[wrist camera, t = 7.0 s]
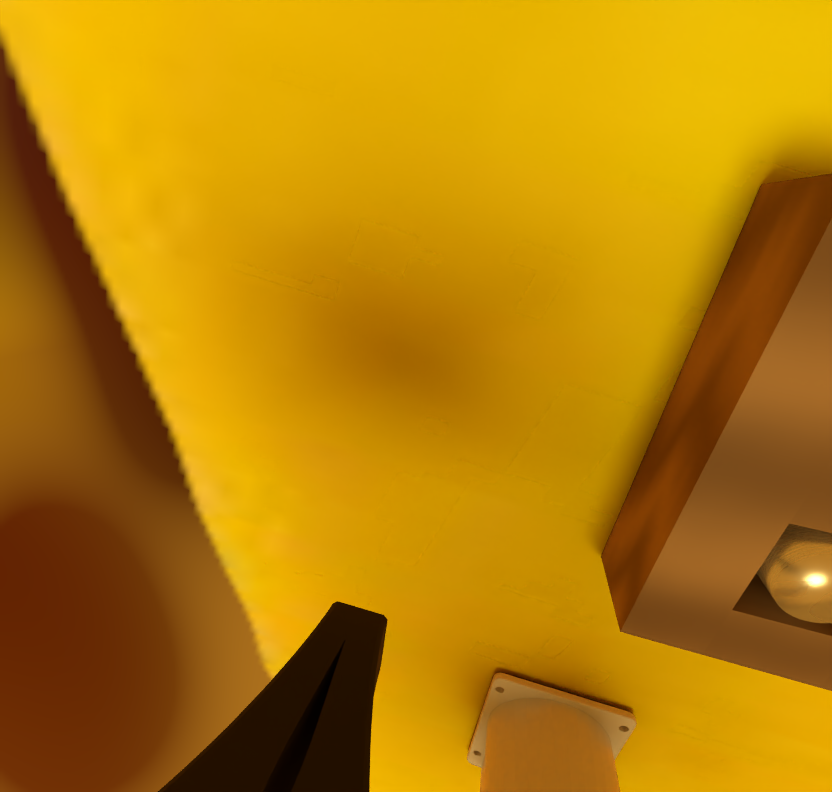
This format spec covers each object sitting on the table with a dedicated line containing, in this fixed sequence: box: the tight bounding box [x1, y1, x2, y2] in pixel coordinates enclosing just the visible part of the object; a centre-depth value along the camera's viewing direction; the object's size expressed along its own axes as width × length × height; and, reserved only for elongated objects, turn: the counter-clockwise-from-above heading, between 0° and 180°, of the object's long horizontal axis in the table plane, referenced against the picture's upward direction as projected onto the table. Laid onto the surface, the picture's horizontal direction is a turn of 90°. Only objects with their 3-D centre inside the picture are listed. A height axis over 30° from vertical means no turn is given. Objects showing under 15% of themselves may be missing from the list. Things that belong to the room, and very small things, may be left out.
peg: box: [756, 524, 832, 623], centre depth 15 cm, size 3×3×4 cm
